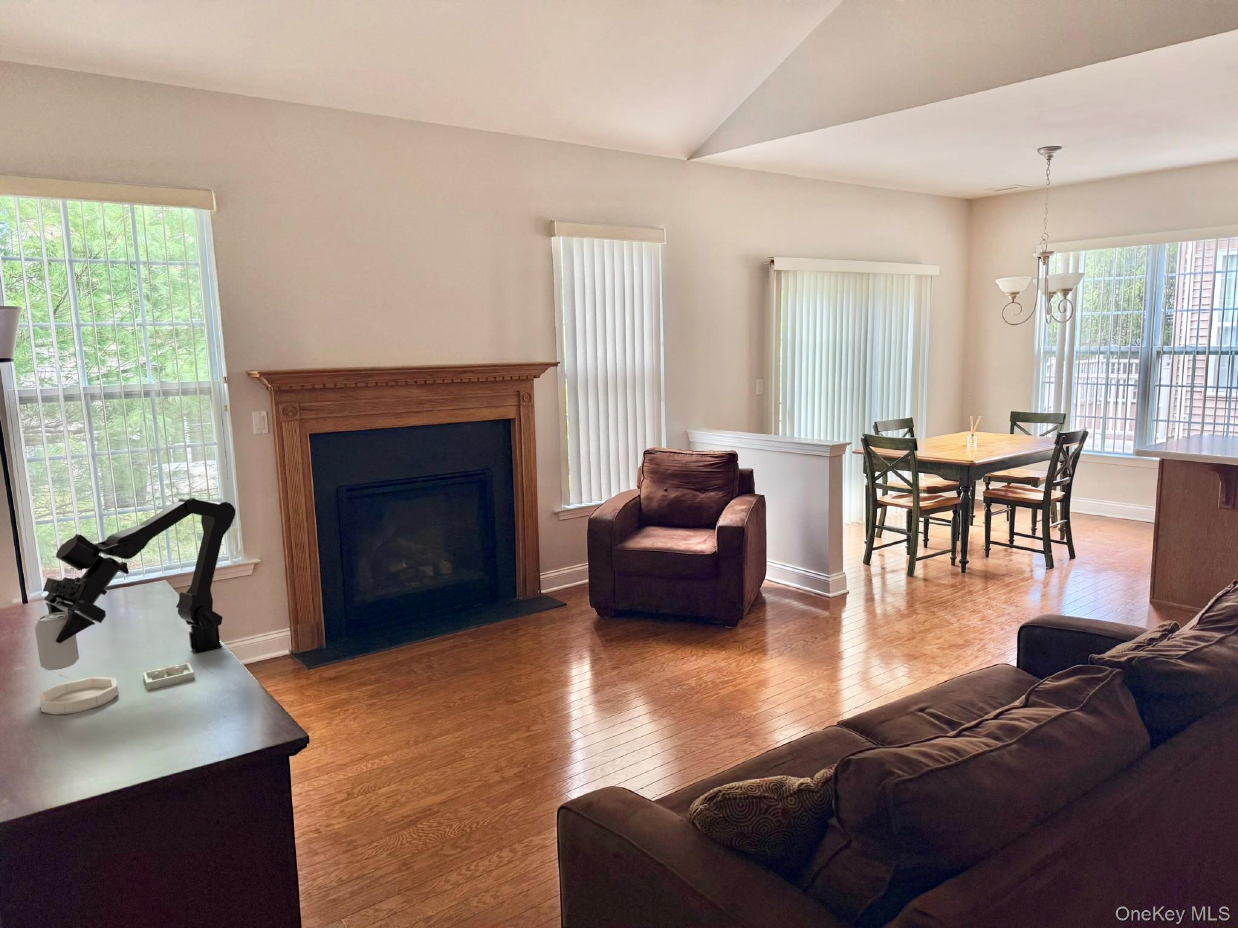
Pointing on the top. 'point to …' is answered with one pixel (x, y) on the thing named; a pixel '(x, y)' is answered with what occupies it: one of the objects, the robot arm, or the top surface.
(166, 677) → the pebble tray
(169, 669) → the pebbles
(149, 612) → the top surface
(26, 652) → the top surface
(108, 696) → the bowl
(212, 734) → the top surface
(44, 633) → the can
